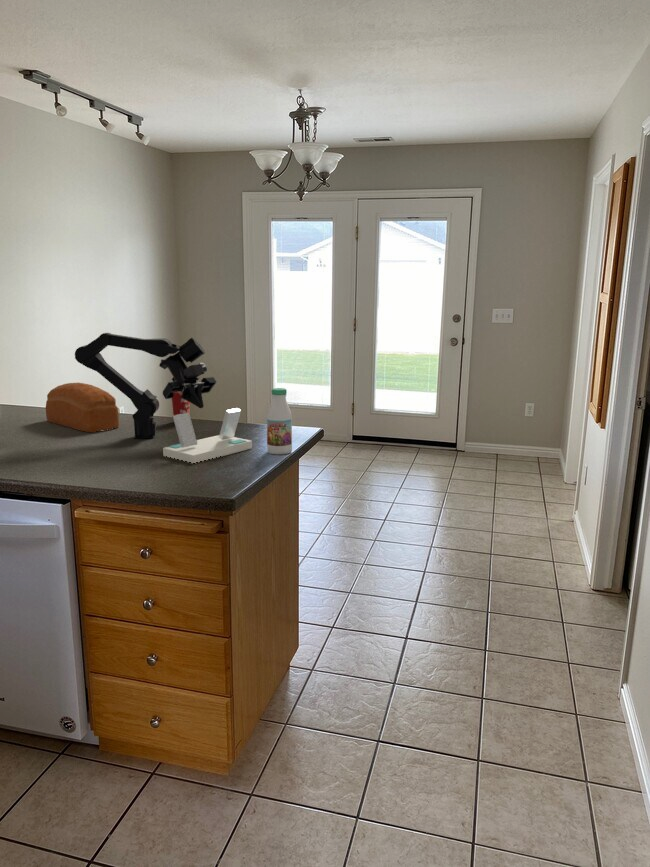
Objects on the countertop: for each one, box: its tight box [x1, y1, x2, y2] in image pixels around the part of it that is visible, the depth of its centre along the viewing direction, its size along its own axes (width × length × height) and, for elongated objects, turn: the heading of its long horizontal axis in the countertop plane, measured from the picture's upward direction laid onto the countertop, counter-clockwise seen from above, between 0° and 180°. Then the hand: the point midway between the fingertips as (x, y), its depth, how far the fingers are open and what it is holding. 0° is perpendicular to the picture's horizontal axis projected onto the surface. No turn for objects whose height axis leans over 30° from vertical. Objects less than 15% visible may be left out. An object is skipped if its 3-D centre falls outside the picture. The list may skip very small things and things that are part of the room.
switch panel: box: [162, 434, 253, 464], centre depth 204 cm, size 14×24×3 cm, turn 141°
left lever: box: [172, 413, 198, 448], centre depth 197 cm, size 2×5×10 cm, turn 141°
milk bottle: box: [266, 387, 293, 456], centre depth 202 cm, size 8×8×20 cm
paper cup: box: [171, 392, 191, 416], centre depth 246 cm, size 8×8×14 cm
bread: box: [45, 382, 120, 433], centre depth 241 cm, size 14×33×16 cm, turn 49°
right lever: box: [218, 407, 242, 440], centre depth 207 cm, size 2×5×10 cm, turn 142°
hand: (202, 407), depth 214 cm, fingers closed
